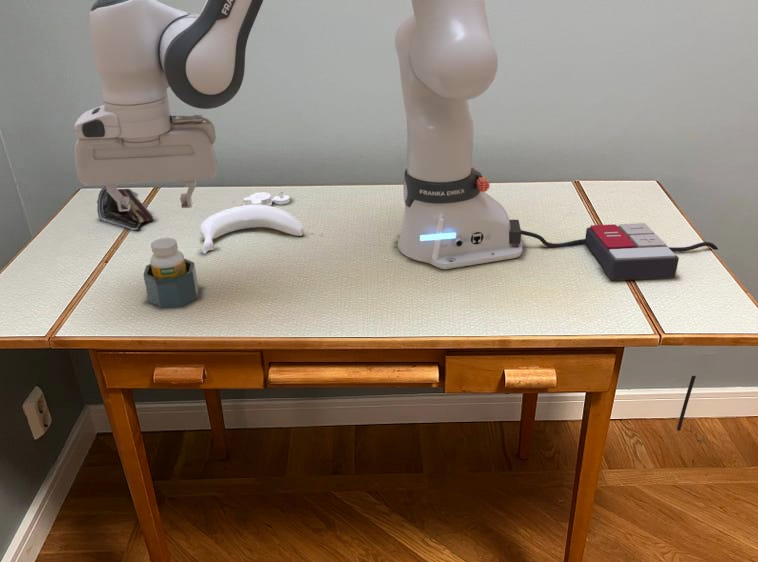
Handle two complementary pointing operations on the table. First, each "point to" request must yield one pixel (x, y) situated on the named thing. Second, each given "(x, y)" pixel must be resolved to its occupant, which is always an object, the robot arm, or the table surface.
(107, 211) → the chocolate cake
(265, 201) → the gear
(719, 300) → the table surface
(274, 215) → the banana
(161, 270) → the supplement bottle
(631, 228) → the control box
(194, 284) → the holder
